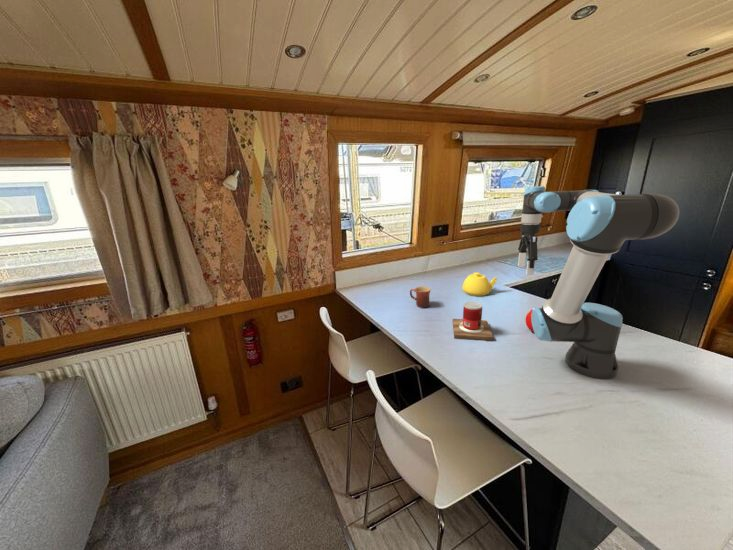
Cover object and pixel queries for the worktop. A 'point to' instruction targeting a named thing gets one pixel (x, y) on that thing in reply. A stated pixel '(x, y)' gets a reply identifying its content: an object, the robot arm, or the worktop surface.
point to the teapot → (477, 285)
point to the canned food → (472, 315)
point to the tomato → (529, 321)
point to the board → (472, 331)
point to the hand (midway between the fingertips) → (525, 270)
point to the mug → (421, 296)
